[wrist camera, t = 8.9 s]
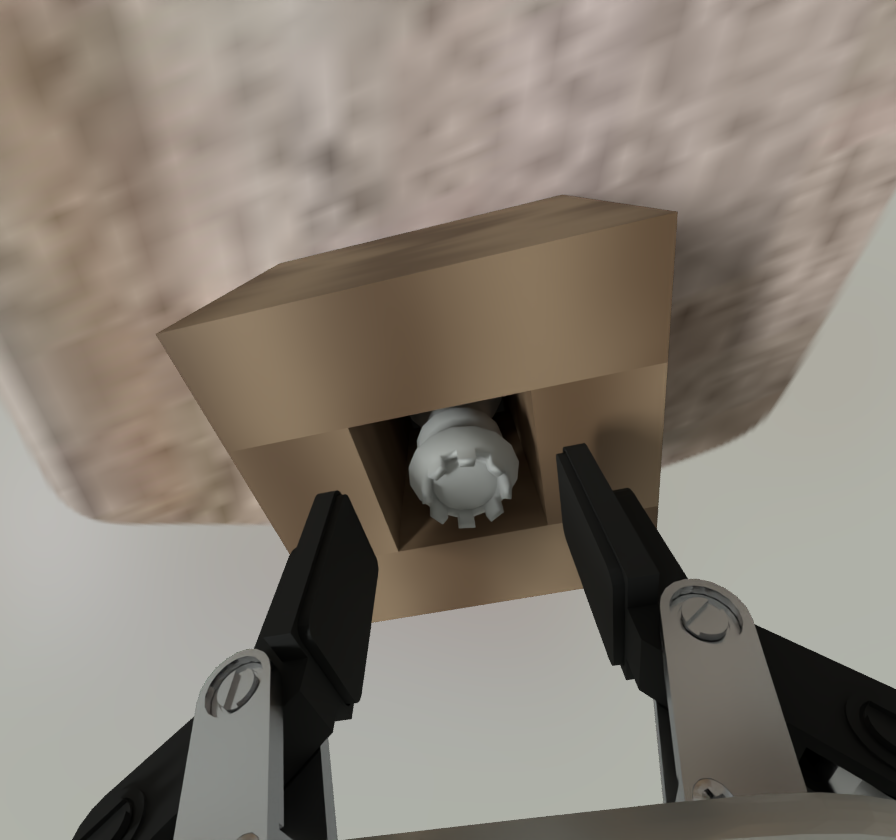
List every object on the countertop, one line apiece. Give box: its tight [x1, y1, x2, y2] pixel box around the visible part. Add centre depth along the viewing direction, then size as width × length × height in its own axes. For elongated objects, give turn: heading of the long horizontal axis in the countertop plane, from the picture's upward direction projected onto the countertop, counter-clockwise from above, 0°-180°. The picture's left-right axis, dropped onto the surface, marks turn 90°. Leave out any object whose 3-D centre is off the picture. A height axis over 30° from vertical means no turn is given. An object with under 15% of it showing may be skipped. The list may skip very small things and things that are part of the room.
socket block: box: [156, 195, 678, 623], centre depth 16 cm, size 12×12×9 cm
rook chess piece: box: [409, 396, 519, 528], centre depth 15 cm, size 4×4×8 cm
